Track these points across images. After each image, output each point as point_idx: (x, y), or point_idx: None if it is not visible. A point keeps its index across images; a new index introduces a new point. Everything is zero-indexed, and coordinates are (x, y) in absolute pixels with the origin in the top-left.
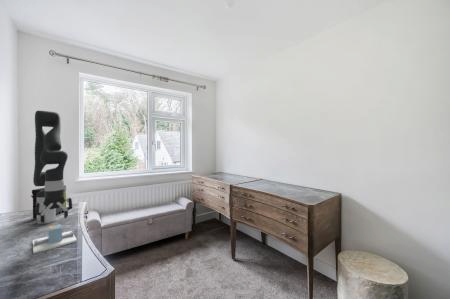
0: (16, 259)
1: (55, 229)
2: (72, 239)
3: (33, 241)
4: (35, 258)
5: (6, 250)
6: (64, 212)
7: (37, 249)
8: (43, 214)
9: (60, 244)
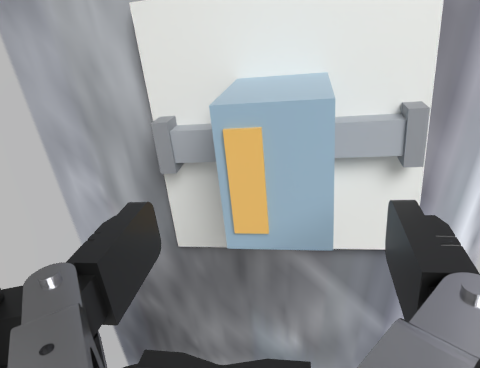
0: None
1: (279, 247)
2: None
3: (142, 46)
4: (201, 299)
5: (18, 60)
6: (409, 294)
7: (194, 231)
8: (96, 341)
9: None
